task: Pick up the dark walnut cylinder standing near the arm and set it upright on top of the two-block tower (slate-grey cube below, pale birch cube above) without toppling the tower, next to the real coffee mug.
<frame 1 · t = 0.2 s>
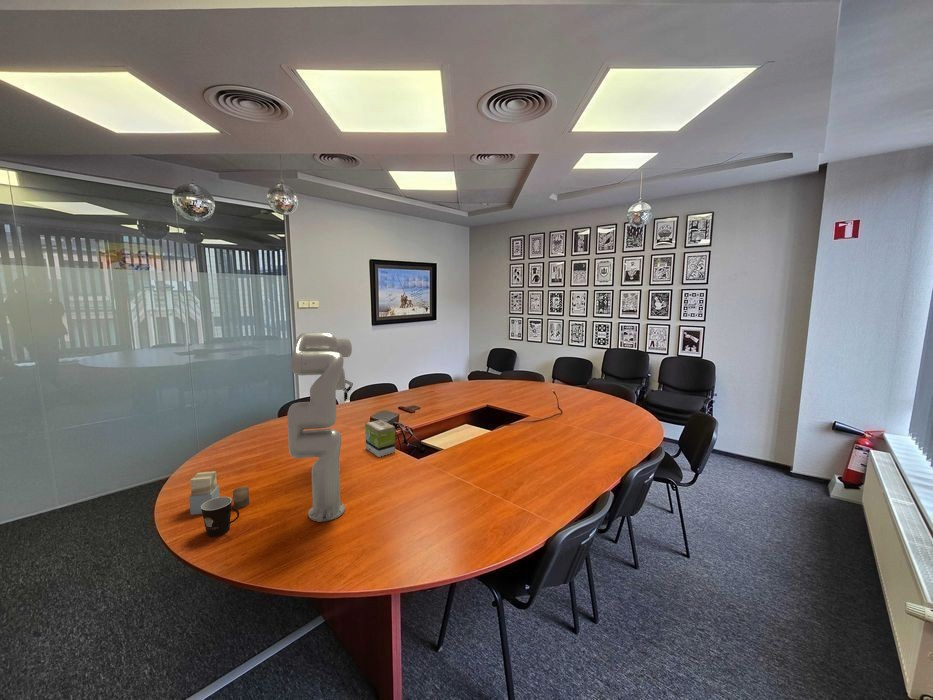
hand: (334, 401, 176), 31 cm above the table, fingers open, 9 cm apart
tea box: (380, 451, 196), on the table
coffee mug: (220, 533, 123), on the table
birch block: (204, 490, 137), point 7 cm above the table, touching slate block
walnut cylinder: (241, 504, 141), on the table
slate block: (205, 508, 138), on the table, touching birch block
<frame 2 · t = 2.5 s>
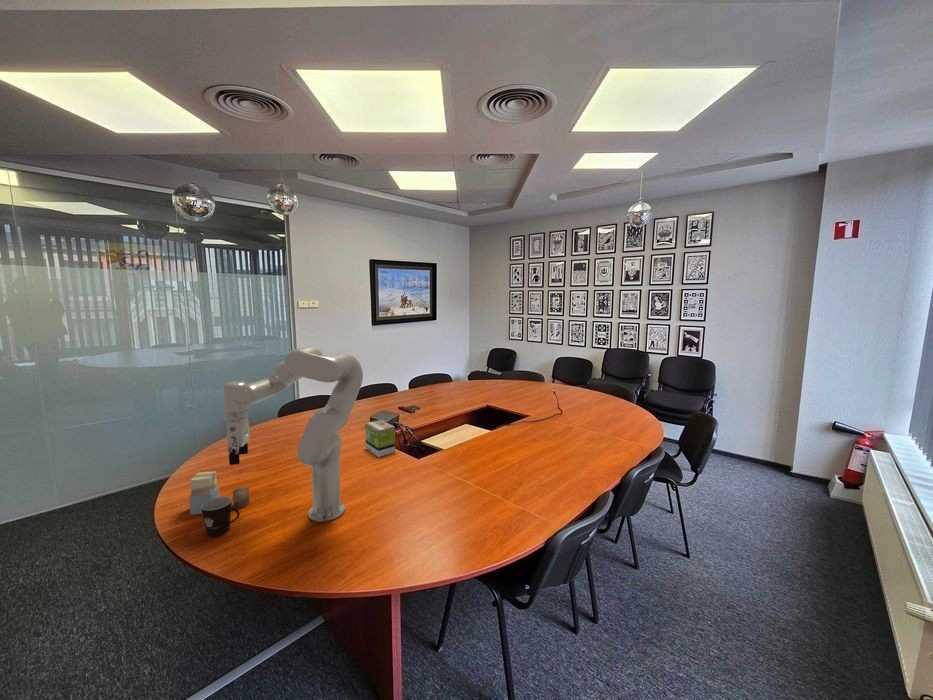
hand: (239, 458, 139), 18 cm above the table, fingers open, 9 cm apart
nothing on the table moved.
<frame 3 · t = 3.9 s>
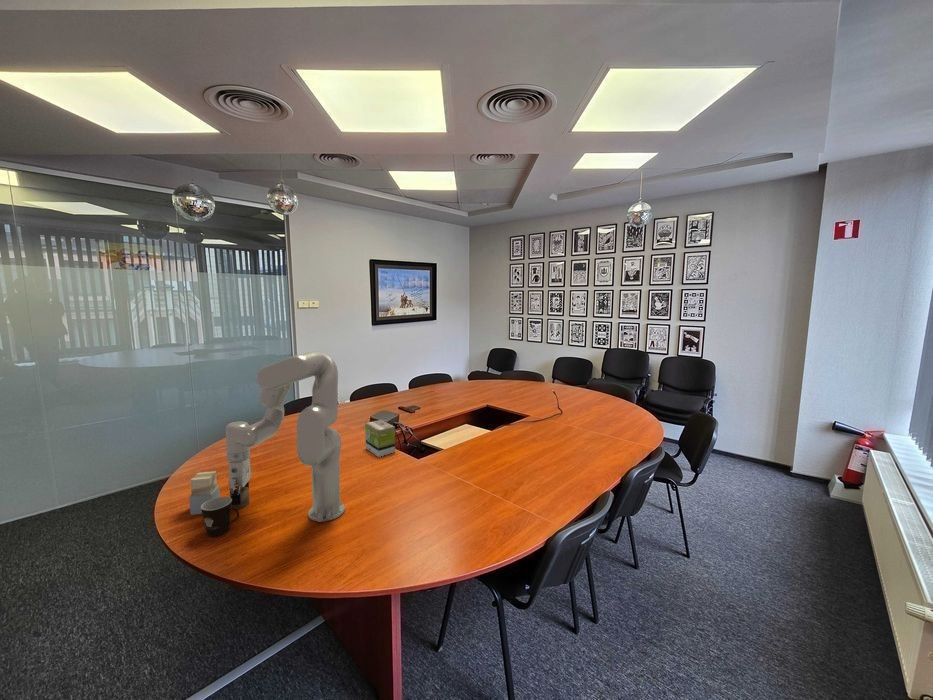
hand: (240, 497, 141), 3 cm above the table, fingers open, 9 cm apart
nothing on the table moved.
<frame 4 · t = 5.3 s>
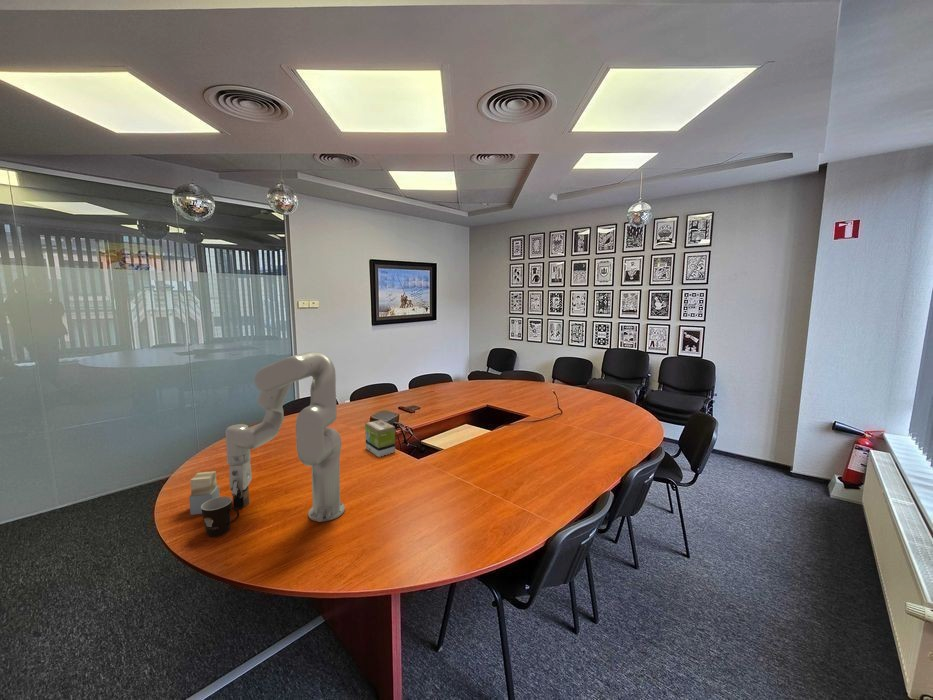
hand: (241, 502, 141), 1 cm above the table, fingers closed on walnut cylinder, 5 cm apart
walnut cylinder: (241, 504, 141), on the table, touching gripper
everything else where it was.
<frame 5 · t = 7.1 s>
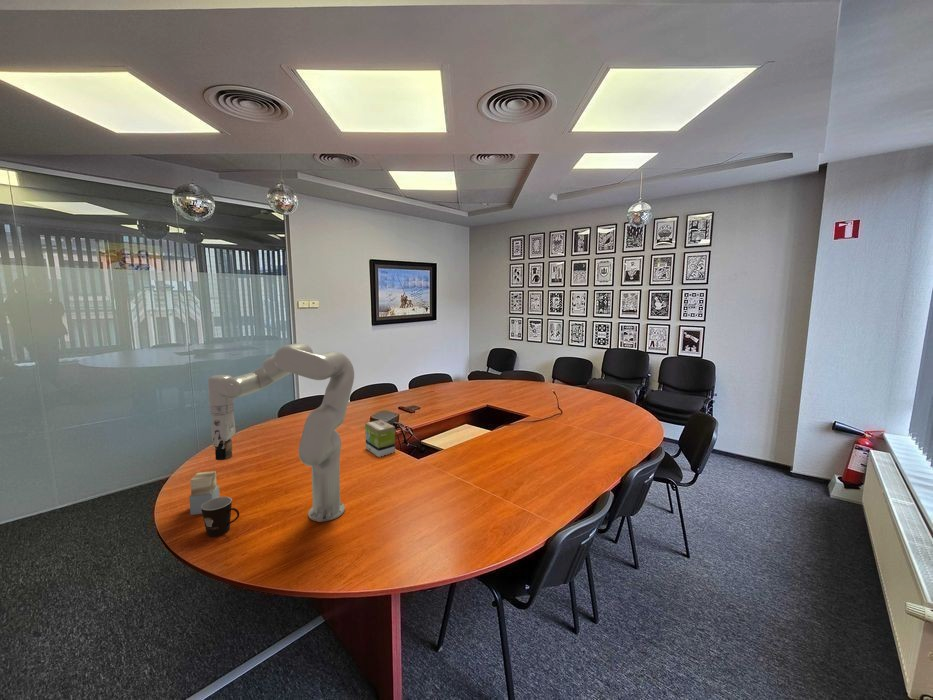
hand: (224, 455, 138), 20 cm above the table, fingers closed on walnut cylinder, 5 cm apart
walnut cylinder: (224, 457, 138), point 19 cm above the table, touching gripper
everything else where it was.
when the fingers open (15 cm above the table, at t = 9.2 s): walnut cylinder drops 1 cm, resting on birch block.
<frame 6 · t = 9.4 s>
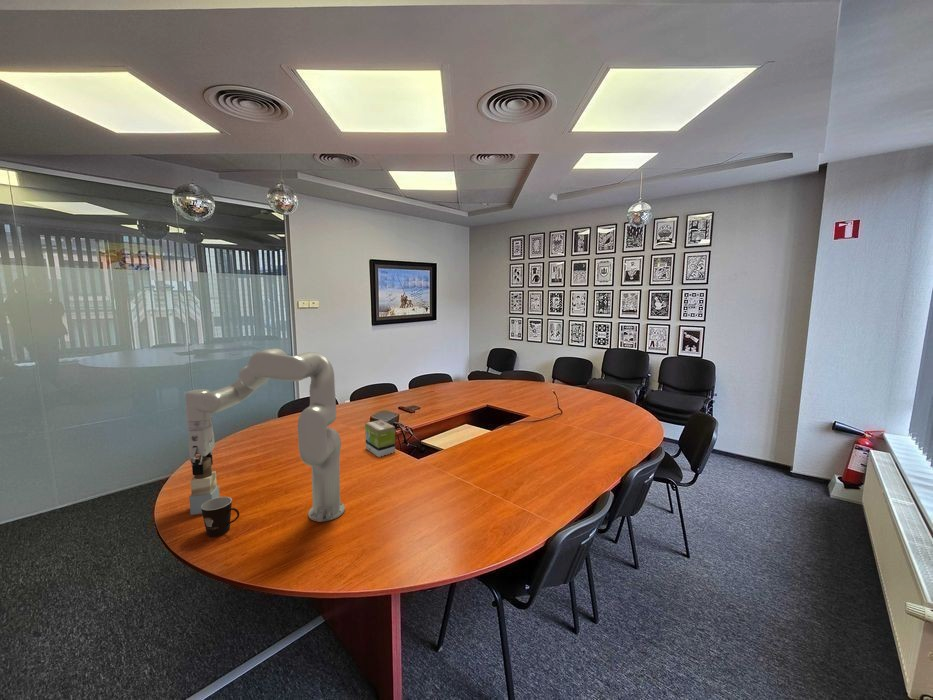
hand: (203, 469, 136), 15 cm above the table, fingers open, 7 cm apart
birch block: (204, 490, 137), point 7 cm above the table, touching slate block, walnut cylinder
walnut cylinder: (203, 475, 136), point 13 cm above the table, touching birch block
everything else where it was.
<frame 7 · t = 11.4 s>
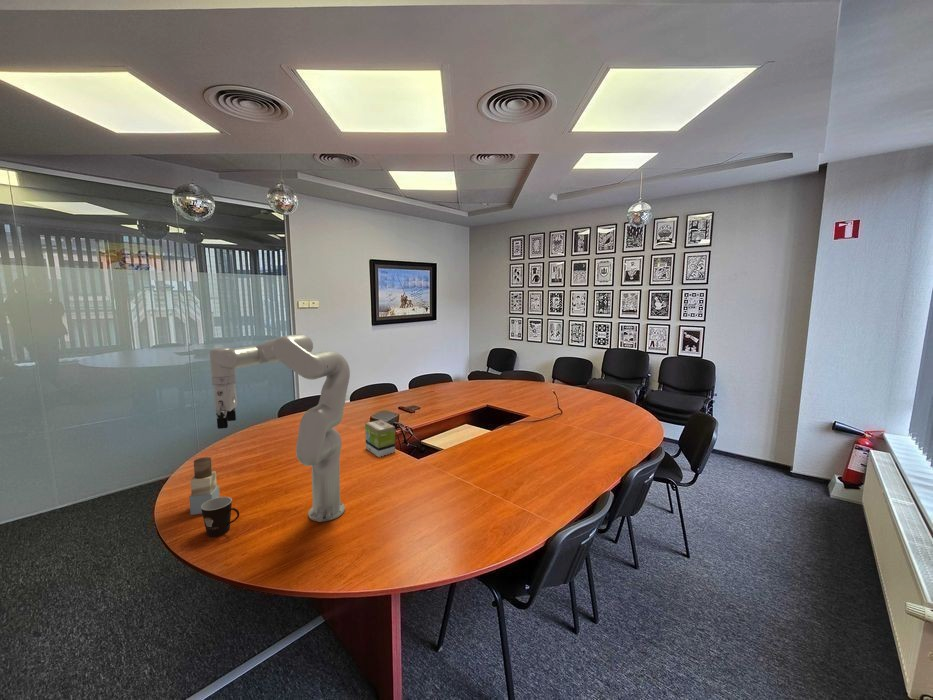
hand: (227, 424, 141), 30 cm above the table, fingers open, 9 cm apart
nothing on the table moved.
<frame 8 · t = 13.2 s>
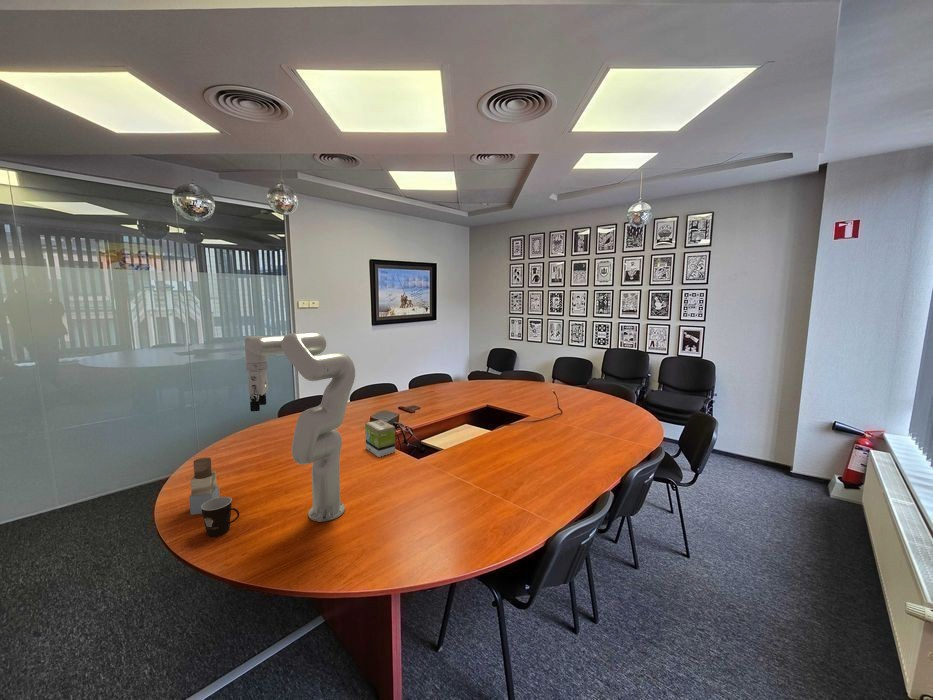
hand: (258, 407, 151), 34 cm above the table, fingers open, 9 cm apart
nothing on the table moved.
at the end: walnut cylinder 0.1 cm off-centre on the birch block, point 6.0 cm above the birch block's base; birch block tilted 0°; walnut cylinder tilted 0° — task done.
